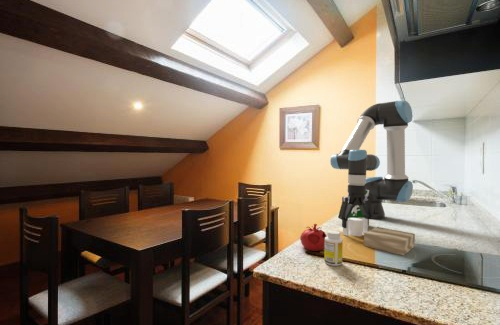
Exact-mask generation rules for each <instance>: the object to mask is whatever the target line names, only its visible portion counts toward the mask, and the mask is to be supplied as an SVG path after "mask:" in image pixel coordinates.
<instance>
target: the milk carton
mask: <svg viewBox="0 0 500 325" xmlns="http://www.w3.org/2000/svg"><path fill="white" fill-rule="evenodd" d="M346 191H347V196H348V195H349V193H348V188H347V189H346ZM368 194H369V190H366V193H365V194H364V195H365V196H368ZM348 202H349V201H348ZM351 205H352V204H351ZM349 218H361V219H363V218H364V216H363V214H362V211H361V209H360V207H359V206H358V205H357V206H355V207H354V208H353V209H352V211H351V213H350V215H349ZM347 221H348V220H347Z"/></svg>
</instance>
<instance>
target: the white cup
mask: <svg viewBox="0 0 500 325" xmlns="http://www.w3.org/2000/svg"><path fill="white" fill-rule="evenodd" d="M348 221H349V234H348V236H354V237H362V236H363V234H364V233H363V225H364V219H361V218H348Z"/></svg>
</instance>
